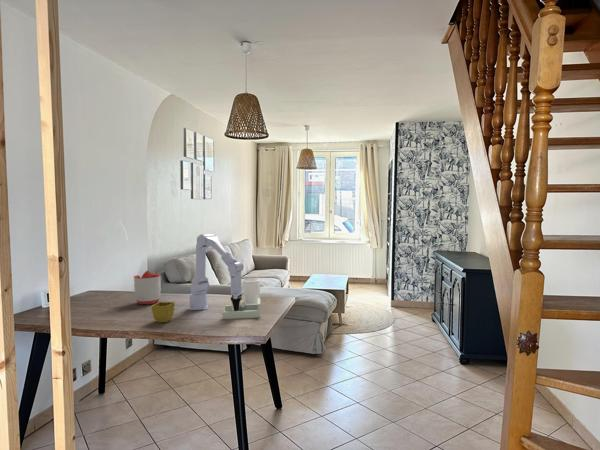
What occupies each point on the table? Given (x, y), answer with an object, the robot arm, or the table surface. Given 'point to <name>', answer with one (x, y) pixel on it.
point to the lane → (249, 312)
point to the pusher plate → (243, 306)
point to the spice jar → (239, 303)
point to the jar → (251, 290)
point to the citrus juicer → (147, 288)
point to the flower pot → (163, 311)
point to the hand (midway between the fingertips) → (236, 309)
